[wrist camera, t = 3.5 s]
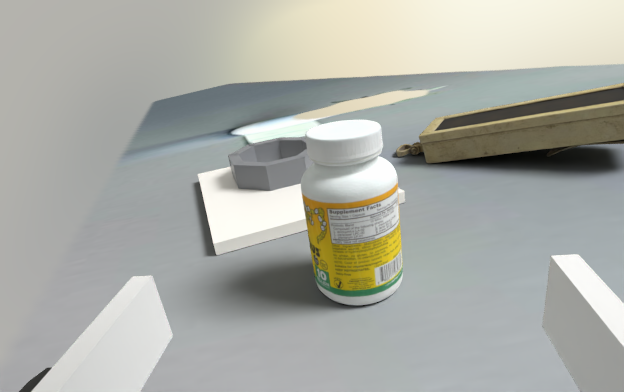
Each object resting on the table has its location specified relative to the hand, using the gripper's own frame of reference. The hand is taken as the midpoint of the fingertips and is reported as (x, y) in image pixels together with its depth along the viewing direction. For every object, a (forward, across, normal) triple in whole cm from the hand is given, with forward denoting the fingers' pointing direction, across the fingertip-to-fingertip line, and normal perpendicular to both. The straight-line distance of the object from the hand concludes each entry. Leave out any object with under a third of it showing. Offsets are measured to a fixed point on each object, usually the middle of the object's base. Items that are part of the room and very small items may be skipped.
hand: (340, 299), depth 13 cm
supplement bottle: (+10, 0, -6) cm, 12 cm away
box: (+30, +15, -6) cm, 34 cm away
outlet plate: (+25, -7, -6) cm, 27 cm away
